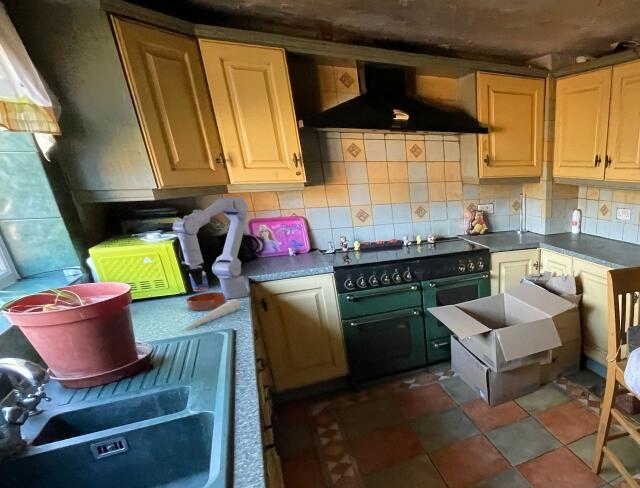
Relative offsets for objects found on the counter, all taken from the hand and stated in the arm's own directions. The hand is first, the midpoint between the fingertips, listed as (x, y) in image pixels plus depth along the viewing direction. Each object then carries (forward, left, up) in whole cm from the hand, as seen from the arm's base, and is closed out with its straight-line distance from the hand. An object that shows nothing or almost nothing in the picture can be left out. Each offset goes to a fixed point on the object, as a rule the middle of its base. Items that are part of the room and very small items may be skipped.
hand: (199, 283), depth 173 cm
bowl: (-1, +1, -10) cm, 10 cm away
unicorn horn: (-4, +20, -10) cm, 23 cm away
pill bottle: (0, 0, -3) cm, 3 cm away
